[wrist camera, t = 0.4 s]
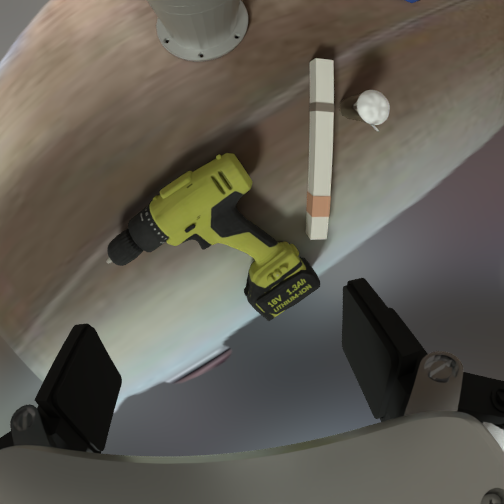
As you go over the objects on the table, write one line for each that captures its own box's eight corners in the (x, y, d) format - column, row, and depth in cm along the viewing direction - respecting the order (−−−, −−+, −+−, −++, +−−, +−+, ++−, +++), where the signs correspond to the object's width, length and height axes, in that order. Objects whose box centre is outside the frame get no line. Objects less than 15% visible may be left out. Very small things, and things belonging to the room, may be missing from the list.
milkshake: (332, 125, 40) (361, 127, 31) (336, 90, 38) (366, 84, 29) (359, 131, 40) (393, 135, 31) (364, 97, 38) (398, 94, 29)
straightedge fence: (309, 62, 36) (315, 57, 33) (326, 63, 36) (333, 60, 33) (305, 232, 46) (310, 239, 43) (321, 232, 46) (327, 239, 44)
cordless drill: (194, 341, 53) (100, 236, 43) (313, 270, 50) (230, 139, 40) (193, 367, 47) (84, 253, 37) (327, 291, 43) (232, 141, 34)
